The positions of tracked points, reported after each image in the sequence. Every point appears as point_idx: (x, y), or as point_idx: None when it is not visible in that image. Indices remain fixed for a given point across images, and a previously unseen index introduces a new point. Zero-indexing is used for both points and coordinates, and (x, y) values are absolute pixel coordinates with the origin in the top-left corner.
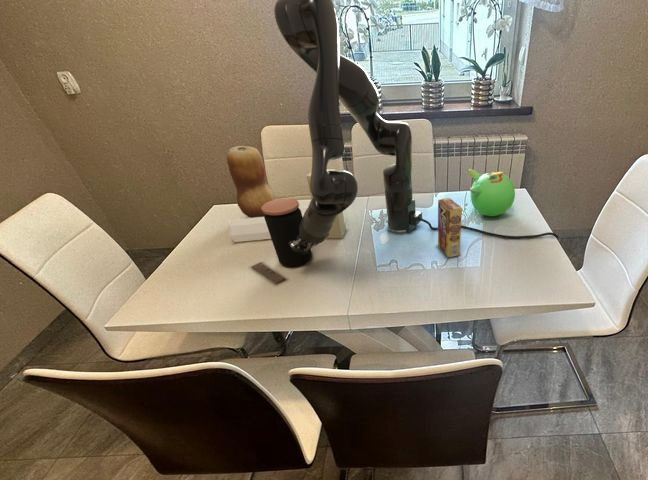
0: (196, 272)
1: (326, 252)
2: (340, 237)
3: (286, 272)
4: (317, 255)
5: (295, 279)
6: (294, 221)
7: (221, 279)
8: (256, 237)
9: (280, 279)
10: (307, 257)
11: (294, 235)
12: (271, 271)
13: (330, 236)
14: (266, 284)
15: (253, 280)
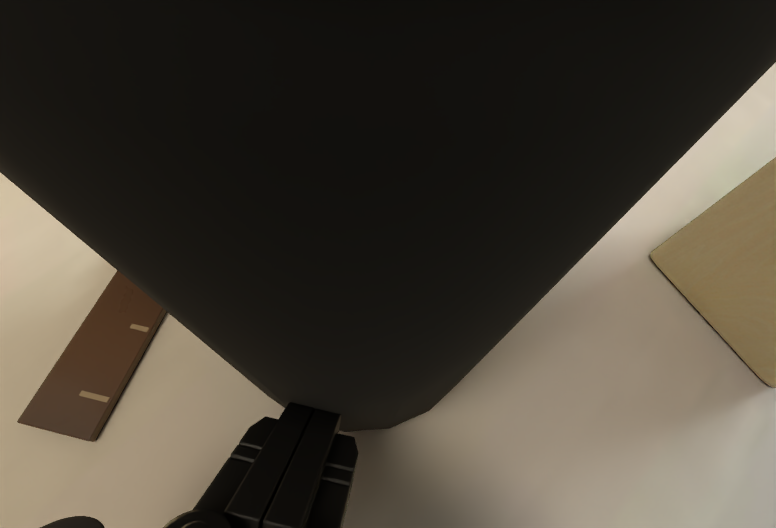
0: None
1: (561, 433)
2: (770, 380)
3: (200, 364)
4: (488, 399)
5: (116, 518)
6: (229, 234)
7: None
8: None
9: (73, 412)
10: (364, 427)
11: (232, 349)
12: None
13: (713, 311)
14: (17, 355)
15: (62, 248)
